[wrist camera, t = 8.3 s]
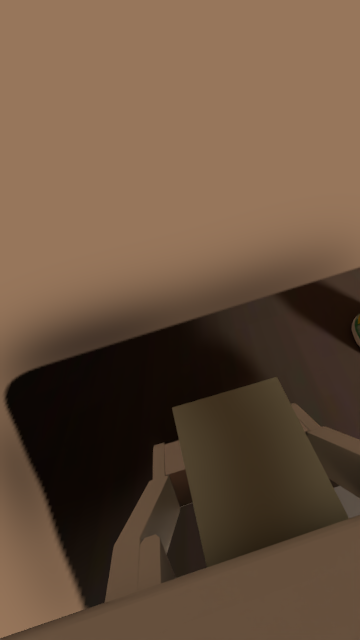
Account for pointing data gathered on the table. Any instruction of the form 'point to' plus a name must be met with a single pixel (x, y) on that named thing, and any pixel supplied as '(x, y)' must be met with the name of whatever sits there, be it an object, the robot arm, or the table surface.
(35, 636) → the robot arm
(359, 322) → the supplement bottle
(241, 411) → the sage block
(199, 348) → the table surface
